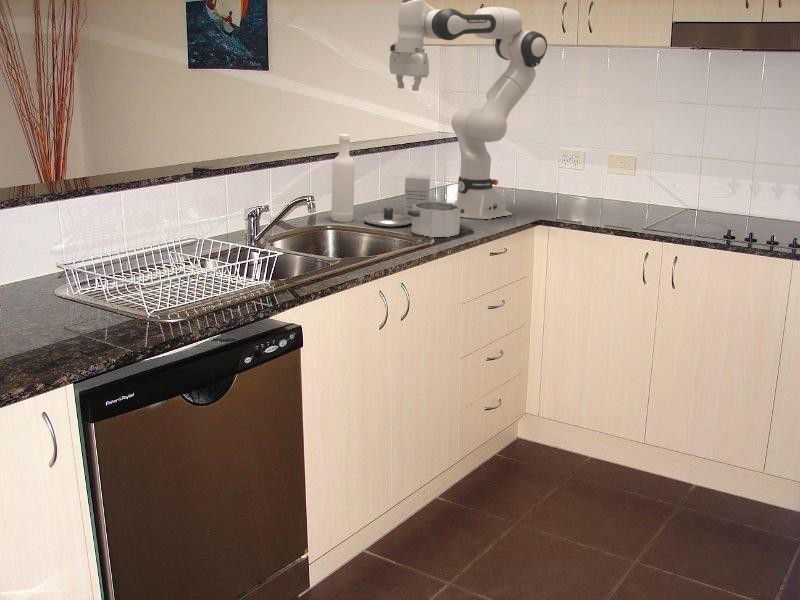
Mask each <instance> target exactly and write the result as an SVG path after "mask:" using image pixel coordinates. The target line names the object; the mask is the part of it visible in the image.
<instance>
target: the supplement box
mask: <svg viewBox="0 0 800 600" xmlns="http://www.w3.org/2000/svg"><path fill="white" fill-rule="evenodd" d="M430 178H431V176H430V175H429V174H418V173H417V174H414V173H406V174H405V181H404V198H403V199H404V200H403V204H404V205H403V215H404V216H408V217H410V218H412V216H410V215H408V211H412V209H413V204H415V203H418V202H430V186H431V185H430V183H431V182H430V181H431V180H430Z"/></svg>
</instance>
